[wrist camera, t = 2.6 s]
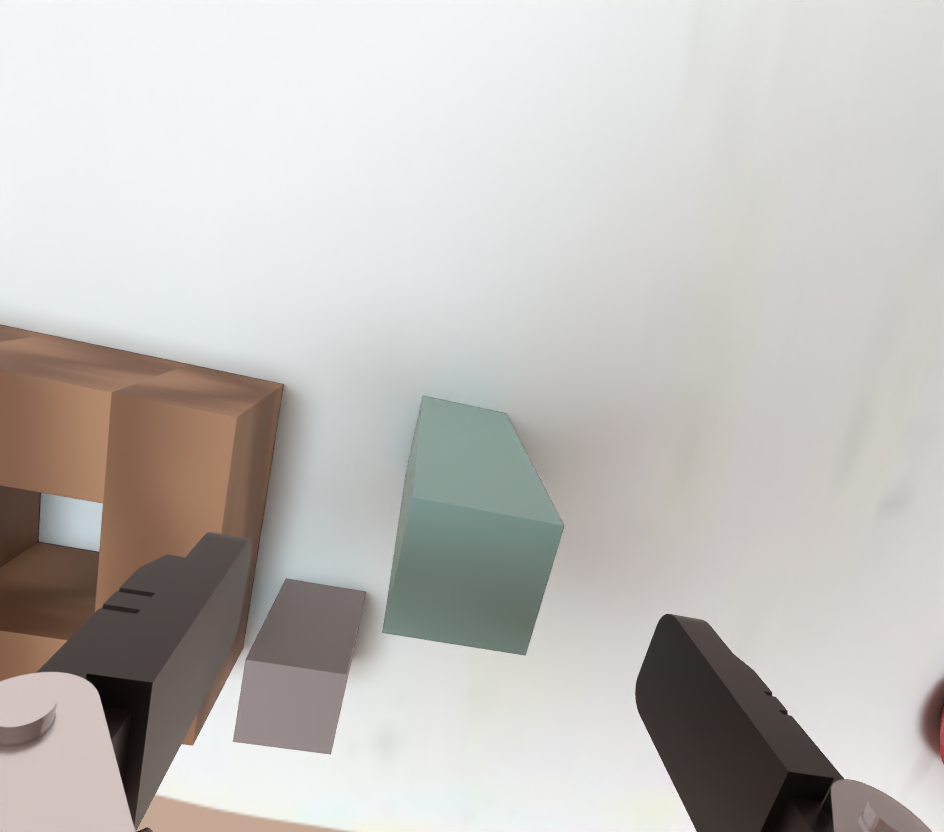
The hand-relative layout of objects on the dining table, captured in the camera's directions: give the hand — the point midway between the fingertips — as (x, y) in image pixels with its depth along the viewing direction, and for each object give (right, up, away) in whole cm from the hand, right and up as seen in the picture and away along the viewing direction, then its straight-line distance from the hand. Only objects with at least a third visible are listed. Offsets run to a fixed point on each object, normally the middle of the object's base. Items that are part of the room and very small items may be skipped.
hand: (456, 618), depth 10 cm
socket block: (-14, +1, +11) cm, 18 cm away
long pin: (0, +3, +11) cm, 12 cm away
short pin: (-6, -5, +13) cm, 15 cm away
